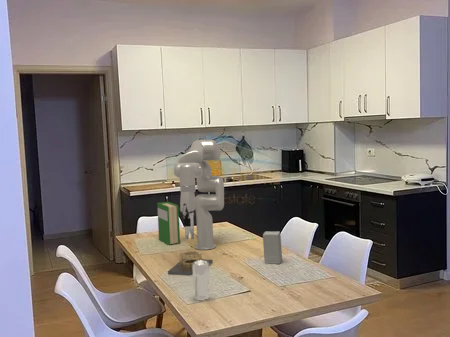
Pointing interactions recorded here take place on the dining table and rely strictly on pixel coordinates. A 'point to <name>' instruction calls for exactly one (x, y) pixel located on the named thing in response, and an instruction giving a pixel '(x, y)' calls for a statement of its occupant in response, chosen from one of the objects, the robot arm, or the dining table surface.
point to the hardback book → (168, 223)
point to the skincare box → (272, 247)
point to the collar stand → (187, 263)
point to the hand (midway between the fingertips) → (189, 224)
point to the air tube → (190, 228)
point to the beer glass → (201, 279)
